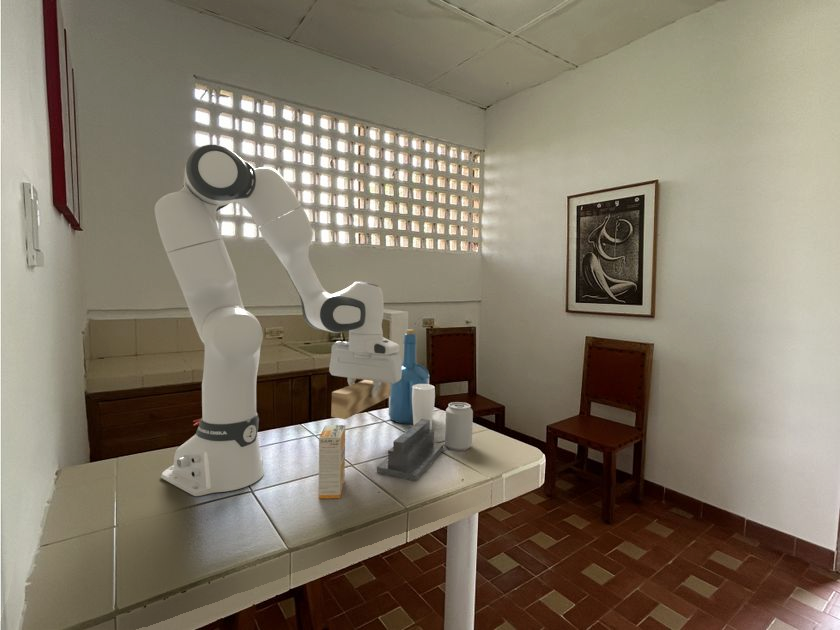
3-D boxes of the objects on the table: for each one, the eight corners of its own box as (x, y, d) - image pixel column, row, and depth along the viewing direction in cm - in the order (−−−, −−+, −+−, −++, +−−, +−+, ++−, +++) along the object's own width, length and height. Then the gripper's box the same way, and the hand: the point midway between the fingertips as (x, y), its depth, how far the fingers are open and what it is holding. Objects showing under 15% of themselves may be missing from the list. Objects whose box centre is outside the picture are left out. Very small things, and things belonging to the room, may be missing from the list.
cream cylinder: (422, 430, 128) (424, 382, 126) (438, 436, 123) (439, 387, 121) (406, 435, 123) (407, 385, 122) (421, 442, 118) (423, 390, 117)
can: (471, 442, 119) (472, 401, 118) (472, 452, 111) (473, 409, 111) (445, 440, 120) (446, 400, 119) (444, 450, 112) (445, 407, 111)
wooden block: (345, 419, 98) (346, 394, 97) (331, 416, 99) (331, 392, 99) (390, 396, 120) (391, 376, 120) (378, 394, 121) (378, 374, 121)
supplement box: (341, 499, 86) (341, 437, 85) (317, 499, 86) (318, 437, 85) (345, 480, 94) (346, 424, 93) (324, 480, 94) (324, 424, 93)
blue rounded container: (380, 420, 136) (382, 329, 134) (402, 410, 148) (403, 326, 145) (416, 428, 129) (418, 333, 127) (436, 417, 141) (438, 329, 139)
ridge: (376, 472, 98) (377, 440, 98) (409, 443, 117) (410, 415, 116) (415, 481, 94) (416, 447, 94) (443, 449, 113) (444, 421, 112)
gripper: (325, 341, 109) (323, 393, 110) (395, 348, 102) (392, 403, 103) (338, 339, 115) (337, 388, 116) (405, 346, 108) (403, 398, 109)
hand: (363, 395), depth 109 cm, fingers closed on wooden block, 4 cm apart
